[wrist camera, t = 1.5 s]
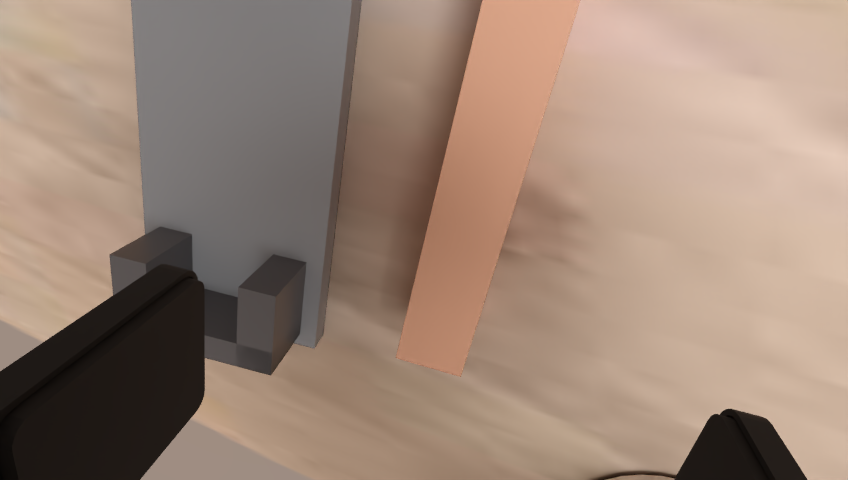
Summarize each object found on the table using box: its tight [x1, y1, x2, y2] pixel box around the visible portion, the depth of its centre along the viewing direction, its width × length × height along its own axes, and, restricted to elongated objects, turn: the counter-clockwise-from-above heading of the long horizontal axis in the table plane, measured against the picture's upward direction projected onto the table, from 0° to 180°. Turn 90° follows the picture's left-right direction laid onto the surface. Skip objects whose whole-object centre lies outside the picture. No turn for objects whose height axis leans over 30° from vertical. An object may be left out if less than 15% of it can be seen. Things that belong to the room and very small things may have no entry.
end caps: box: [110, 227, 307, 375], centre depth 24 cm, size 25×9×4 cm, turn 170°
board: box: [131, 0, 362, 348], centre depth 26 cm, size 27×11×2 cm, turn 170°
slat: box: [396, 0, 580, 377], centre depth 24 cm, size 20×4×5 cm, turn 167°
